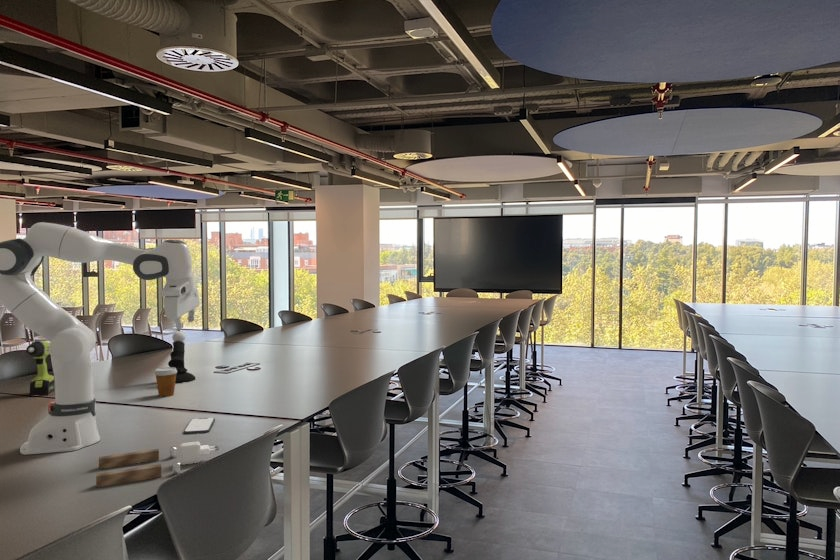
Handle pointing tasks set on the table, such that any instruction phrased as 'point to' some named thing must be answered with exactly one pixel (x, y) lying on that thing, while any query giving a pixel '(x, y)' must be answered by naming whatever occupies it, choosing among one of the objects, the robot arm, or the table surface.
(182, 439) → the table surface
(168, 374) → the disposable coffee cup
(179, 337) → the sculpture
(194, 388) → the table surface
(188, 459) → the power adapter
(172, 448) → the steel pins
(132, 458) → the walnut slot
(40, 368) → the cordless drill
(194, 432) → the smartphone
